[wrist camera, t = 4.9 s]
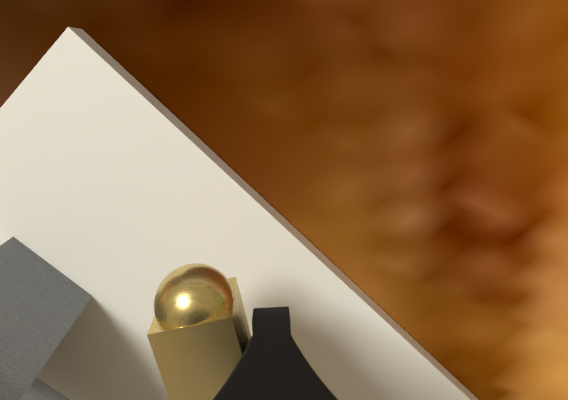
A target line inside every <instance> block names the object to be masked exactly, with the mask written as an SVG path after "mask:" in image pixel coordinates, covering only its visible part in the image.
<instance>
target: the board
mask: <svg viewBox="0 0 568 400" xmlns="http://www.w3.org/2000/svg"><path fill="white" fill-rule="evenodd" d="M11 237H15V238H16V239H17V240H19V241H20V242H21V243H23V244H24V245H25V246H27V247H28V248H29V249H31V250H32V251H33V252H35V253H36V254H37V255H39V256H40V257H41V258H43V259H44V260H45V261H47V262H48V263H49V264H51V265H52V266H53V267H55V268H56V269H57V270H59V271H60V272H61V273H63V274H64V275H65V276H67V277H68V278H69V279H71V280H72V281H73V282H75V283H76V284H77V285H78V286H80V287H81V288H82V289H84V290H85V291H86V292H88V293H89V294H90V295H92V298H91V299H90V300H89V302H88V303H87V305H86V306H85V308H84V309H83V311H82V312H81V313H80V315H79V316H78V318H77V319H76V321H75V322H74V323H73V325H72V326H71V328H70V329H69V331H68V332H67V333H66V335H65V336H64V338H63V339H62V341H61V342H60V344H59V345H58V346H57V348H56V349H55V351H54V352H53V354H52V355H51V356H50V358H49V359H48V361H47V362H46V364H45V365H44V367H43V368H42V369H41V371H40V372H39V374H38V375H37V377H36V378H38V379H39V380H41V381H42V382H44V383H45V384H47V385H48V386H50V387H51V388H53V389H54V390H56V391H57V392H59V393H60V394H62V395H63V396H65V397H66V398H68V399H69V400H169V398H168V395H167V392H166V389H165V386H164V383H163V380H162V377H161V374H160V371H159V369H158V366H157V363H156V360H155V357H154V354H153V351H152V348H151V345H150V343H149V340H148V337H147V333H148V331H149V328H150V326H151V323H152V321H153V318H154V316H155V313H154V299H155V294H156V291H157V289H158V287H159V285H160V283H161V282H162V280H163V279H164V278H165V277H166V276H167V275H168V274H169V273H170V272H171V271H173V270H174V269H176V268H178V267H180V266H183V265H186V264H192V263H200V264H206V265H209V266H212V267H214V268H216V269H218V270H219V271H220V272H222V273H223V274H224V275H225V276H226V278H232V277H236V279H237V283H238V286H239V290H240V294H241V298H242V302H243V306H244V310H245V313H246V317H247V321H248V325H249V329H250V333H251V337H252V335H253V332H252V315H253V309H254V308H269V307H288V306H289V313H290V323H291V335H292V337H293V339H294V341H295V343H296V344H297V346H298V347H299V349H300V351H301V352H302V354H303V356H304V357H305V359H306V360H307V361H308V363H309V364H310V366H311V367H312V369H313V370H314V371H315V373H316V374H317V375H318V377H319V378H320V379H321V380H322V382H323V383H324V384H325V385H326V387H327V388H328V389H329V390H330V391H331V392H332V394H333V395H334V396H335V397H336V398H337V399H338V400H478V399H477V398H476V397H475V396H474V395H473V394H472V393H471V392H470V391H469V390H468V389H467V388H466V387H464V386H463V385H462V384H461V383H460V382H459V381H458V380H457V379H456V378H455V377H454V376H453V375H452V374H451V373H449V372H448V371H447V370H446V369H445V368H444V367H443V366H442V365H441V364H440V363H439V362H438V361H437V360H436V359H435V358H433V357H432V356H431V355H430V354H429V353H428V352H427V351H426V350H425V349H424V348H423V347H422V346H421V345H420V344H418V343H417V342H416V341H415V340H414V339H413V338H412V337H411V336H410V335H409V334H408V333H407V332H406V331H405V330H403V329H402V328H401V327H400V326H399V325H398V324H397V323H396V322H395V321H394V320H393V319H392V318H391V317H390V316H388V315H387V314H386V313H385V312H384V311H383V310H382V309H381V308H380V307H379V306H378V305H377V304H376V303H375V302H374V301H372V300H371V299H370V298H369V297H368V296H367V295H366V294H365V293H364V292H363V291H362V290H361V289H360V288H359V287H357V286H356V285H355V284H354V283H353V282H352V281H351V280H350V279H349V278H348V277H347V276H346V275H345V274H344V273H342V272H341V271H340V270H339V269H338V268H337V267H336V266H335V265H334V264H333V263H332V262H331V261H330V260H329V259H327V258H326V257H325V256H324V255H323V254H322V253H321V252H320V251H319V250H318V249H317V248H316V247H315V246H314V245H313V244H311V243H310V242H309V241H308V240H307V239H306V238H305V237H304V236H303V235H302V234H301V233H300V232H299V231H298V230H296V229H295V228H294V227H293V226H292V225H291V224H290V223H289V222H288V221H287V220H286V219H285V218H284V217H283V216H281V215H280V214H279V213H278V212H277V211H276V210H275V209H274V208H273V207H272V206H271V205H270V204H269V203H268V202H267V201H265V200H264V199H263V198H262V197H261V196H260V195H259V194H258V193H257V192H256V191H255V190H254V189H253V188H252V187H250V186H249V185H248V184H247V183H246V182H245V181H244V180H243V179H242V178H241V177H240V176H239V175H238V174H237V173H235V172H234V171H233V170H232V169H231V168H230V167H229V166H228V165H227V164H226V163H225V162H224V161H223V160H222V159H220V158H219V157H218V156H217V155H216V154H215V153H214V152H213V151H212V150H211V149H210V148H209V147H208V146H207V145H206V144H204V143H203V142H202V141H201V140H200V139H199V138H198V137H197V136H196V135H195V134H194V133H193V132H192V131H191V130H189V129H188V128H187V127H186V126H185V125H184V124H183V123H182V122H181V121H180V120H179V119H178V118H177V117H176V116H174V115H173V114H172V113H171V112H170V111H169V110H168V109H167V108H166V107H165V106H164V105H163V104H162V103H161V102H159V101H158V100H157V99H156V98H155V97H154V96H153V95H152V94H151V93H150V92H149V91H148V90H147V89H146V88H145V87H143V86H142V85H141V84H140V83H139V82H138V81H137V80H136V79H135V78H134V77H133V76H132V75H131V74H130V73H128V72H127V71H126V70H125V69H124V68H123V67H122V66H121V65H120V64H119V63H118V62H117V61H116V60H115V59H113V58H112V57H111V56H110V55H109V54H108V53H107V52H106V51H105V50H104V49H103V48H102V47H101V46H100V45H98V44H97V43H96V42H95V41H94V40H93V39H92V38H91V37H90V36H89V35H88V34H87V33H86V32H85V31H84V30H82V29H78V28H72V27H68V28H67V29H66V30H65V31H64V32H63V34H62V35H61V36H60V37H59V38H58V40H57V41H56V42H55V43H54V44H53V46H52V47H51V48H50V49H49V50H48V52H47V53H46V54H45V55H44V57H43V58H42V59H41V60H40V61H39V63H38V64H37V65H36V66H35V67H34V69H33V70H32V71H31V72H30V73H29V75H28V76H27V77H26V78H25V79H24V81H23V82H22V83H21V84H20V85H19V87H18V88H17V89H16V90H15V91H14V93H13V94H12V95H11V96H10V97H9V99H8V100H7V101H6V102H5V103H4V105H3V106H2V107H1V108H0V245H2V244H3V243H5V242H6V241H7V240H9V239H10V238H11Z"/></svg>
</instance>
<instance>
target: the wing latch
mask: <svg viewBox="0 0 568 400" xmlns="http://www.w3.org/2000/svg"><path fill="white" fill-rule="evenodd" d="M154 313H155V316H154V318H153V321H152V323H151V326H150V328H149V331H148V333H147V337H148V340H149V343H150V345H151V348H152V351H153V354H154V357H155V360H156V363H157V366H158V369H159V371H160V374H161V377H162V380H163V383H164V386H165V389H166V392H167V395H168V398H169V400H213V398H214V397H215V396H216V394H217V393H218V392H219V390H220V389H221V388H222V386H223V385H224V383H225V382H226V380H227V379H228V377H229V376H230V374H231V373H232V371H233V369H234V368H235V366H236V365H237V363H238V361H239V360H240V358H241V356H242V355H243V353H244V351H245V349H246V347H247V345H248V343H249V341H250V339H251V333H250V329H249V325H248V321H247V317H246V313H245V310H244V306H243V302H242V298H241V294H240V290H239V286H238V283H237V279H236V277H232V278H226V276H225V275H224V274H223V273H222V272H220V271H219V270H218V269H216V268H214V267H212V266H209V265H206V264H200V263H192V264H186V265H183V266H180V267H178V268H176V269H174V270H173V271H171V272H170V273H169V274H168V275H167V276H166V277H165V278H164V279H163V280H162V282H161V283H160V285H159V287H158V289H157V291H156V294H155V299H154Z"/></svg>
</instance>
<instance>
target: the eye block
mask: <svg viewBox="0 0 568 400" xmlns="http://www.w3.org/2000/svg"><path fill="white" fill-rule="evenodd" d="M91 298H92V295H90V294H89V293H88V292H86V291H85V290H84V289H82V288H81V287H80V286H78V285H77V284H76V283H75V282H73V281H72V280H71V279H69V278H68V277H67V276H65V275H64V274H63V273H61V272H60V271H59V270H57V269H56V268H55V267H53V266H52V265H51V264H49V263H48V262H47V261H45V260H44V259H43V258H41V257H40V256H39V255H37V254H36V253H35V252H33V251H32V250H31V249H29V248H28V247H27V246H25V245H24V244H23V243H21V242H20V241H19V240H17V239H16V238H15V237H11V238H10V239H9V240H7V241H6V242H5V243H3V244H2V245H0V400H21V398H22V397H23V395H24V394H25V392H26V391H27V390H28V388H29V387H30V385H31V384H32V382H33V381H34V379H35V378H36V377H37V375H38V374H39V372H40V371H41V369H42V368H43V367H44V365H45V364H46V362H47V361H48V359H49V358H50V356H51V355H52V354H53V352H54V351H55V349H56V348H57V346H58V345H59V344H60V342H61V341H62V339H63V338H64V336H65V335H66V333H67V332H68V331H69V329H70V328H71V326H72V325H73V323H74V322H75V321H76V319H77V318H78V316H79V315H80V313H81V312H82V311H83V309H84V308H85V306H86V305H87V303H88V302H89V300H90V299H91Z"/></svg>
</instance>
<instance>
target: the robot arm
mask: <svg viewBox="0 0 568 400" xmlns="http://www.w3.org/2000/svg"><path fill="white" fill-rule="evenodd" d="M252 332H253V335H252V337H251V339H250V341H249V343H248V345H247V347H246V349H245V351H244V353H243V355H242V356H241V358H240V360H239V361H238V363H237V365H236V366H235V368H234V369H233V371H232V373H231V374H230V376H229V377H228V379H227V380H226V382H225V383H224V385H223V386H222V388H221V389H220V390H219V392H218V393H217V394H216V396H215V397H214V398H213V400H338V399H337V398H336V397H335V396H334V395H333V394H332V392H331V391H330V390H329V389H328V388H327V387H326V385H325V384H324V383H323V382H322V380H321V379H320V378H319V377H318V375H317V374H316V373H315V371H314V370H313V369H312V367H311V366H310V364H309V363H308V361H307V360H306V359H305V357H304V356H303V354H302V352H301V351H300V349H299V347H298V346H297V344H296V343H295V341H294V339H293V337H292V335H291V323H290V313H289V306H288V307H269V308H254V309H253V315H252Z"/></svg>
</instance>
